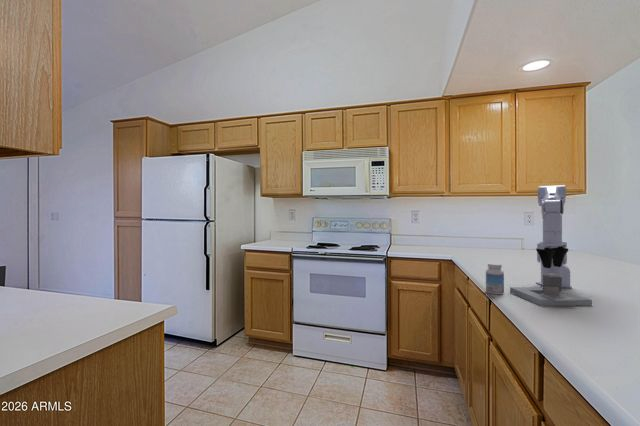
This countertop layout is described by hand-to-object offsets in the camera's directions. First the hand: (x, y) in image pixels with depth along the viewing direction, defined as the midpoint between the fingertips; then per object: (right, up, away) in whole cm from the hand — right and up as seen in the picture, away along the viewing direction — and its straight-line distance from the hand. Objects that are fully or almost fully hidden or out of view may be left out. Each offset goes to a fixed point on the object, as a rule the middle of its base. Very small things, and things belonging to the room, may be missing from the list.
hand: (552, 267), depth 110 cm
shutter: (-7, -8, -11) cm, 15 cm away
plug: (0, -8, 0) cm, 8 cm away
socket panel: (-5, -11, -5) cm, 13 cm away
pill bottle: (-20, -11, +3) cm, 23 cm away
